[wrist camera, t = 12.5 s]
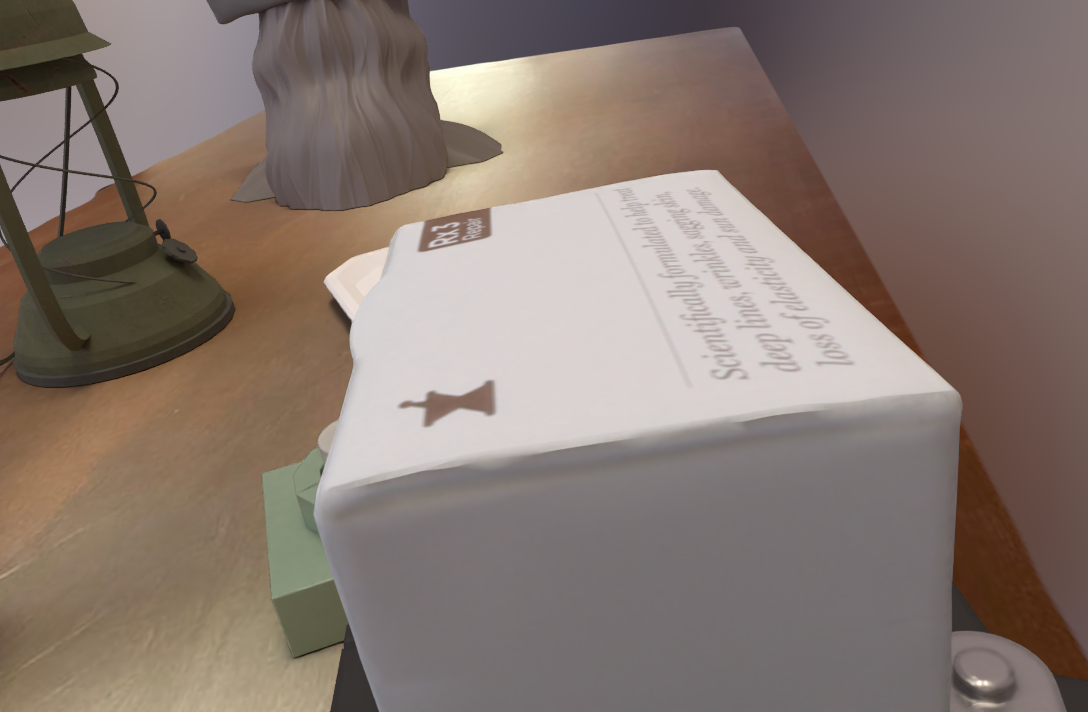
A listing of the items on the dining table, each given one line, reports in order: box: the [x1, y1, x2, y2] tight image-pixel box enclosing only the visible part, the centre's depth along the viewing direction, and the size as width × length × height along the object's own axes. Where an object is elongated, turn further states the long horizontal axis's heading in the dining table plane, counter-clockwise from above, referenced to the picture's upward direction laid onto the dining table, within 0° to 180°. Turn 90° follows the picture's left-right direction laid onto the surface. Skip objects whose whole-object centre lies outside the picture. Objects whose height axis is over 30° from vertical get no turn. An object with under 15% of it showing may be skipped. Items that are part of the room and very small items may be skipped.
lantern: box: [0, 0, 235, 387], centre depth 65 cm, size 21×18×30 cm
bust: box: [207, 0, 503, 211], centre depth 103 cm, size 34×34×35 cm
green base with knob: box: [262, 447, 349, 657], centre depth 41 cm, size 14×10×5 cm
